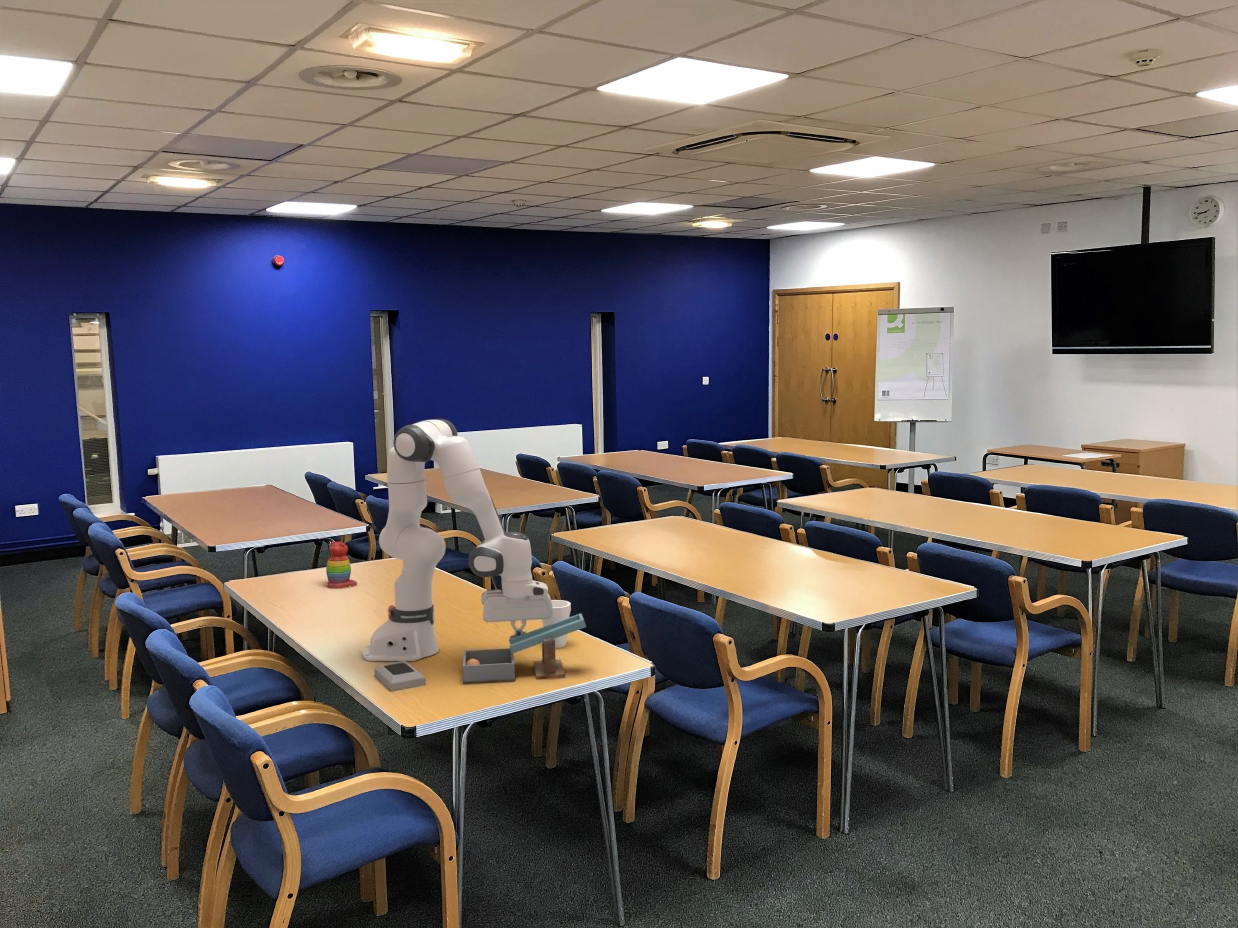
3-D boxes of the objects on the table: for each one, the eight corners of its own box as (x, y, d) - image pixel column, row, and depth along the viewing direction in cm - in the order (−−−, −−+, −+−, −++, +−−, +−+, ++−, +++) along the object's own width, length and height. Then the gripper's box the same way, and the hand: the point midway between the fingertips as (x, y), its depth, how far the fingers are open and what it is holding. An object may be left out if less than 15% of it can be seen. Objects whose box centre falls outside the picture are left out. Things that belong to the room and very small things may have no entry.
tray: (463, 683, 255) (462, 666, 255) (464, 667, 269) (463, 650, 268) (514, 680, 257) (514, 663, 257) (512, 664, 271) (512, 647, 270)
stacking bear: (359, 584, 368) (357, 540, 366) (339, 590, 360) (337, 545, 358) (340, 581, 374) (338, 538, 372) (320, 586, 365) (318, 542, 363)
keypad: (391, 679, 249) (374, 664, 262) (391, 692, 250) (374, 676, 262) (425, 673, 254) (406, 658, 267) (425, 686, 255) (407, 670, 267)
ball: (481, 673, 261) (467, 676, 260) (481, 668, 265) (467, 671, 264) (478, 659, 260) (464, 663, 260) (478, 655, 264) (464, 658, 263)
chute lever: (512, 653, 260) (509, 646, 259) (510, 639, 273) (508, 633, 272) (586, 626, 262) (583, 619, 262) (581, 614, 275) (578, 607, 274)
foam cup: (542, 650, 284) (541, 608, 283) (539, 641, 293) (538, 600, 292) (573, 648, 286) (572, 606, 285) (569, 639, 295) (568, 599, 294)
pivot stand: (536, 679, 258) (535, 639, 257) (533, 663, 271) (532, 626, 270) (564, 677, 260) (564, 638, 258) (560, 662, 272) (560, 625, 271)
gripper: (480, 592, 263) (482, 640, 265) (552, 588, 266) (554, 635, 268) (480, 587, 270) (482, 633, 271) (551, 583, 272) (552, 629, 274)
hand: (518, 634), depth 269 cm, fingers closed
